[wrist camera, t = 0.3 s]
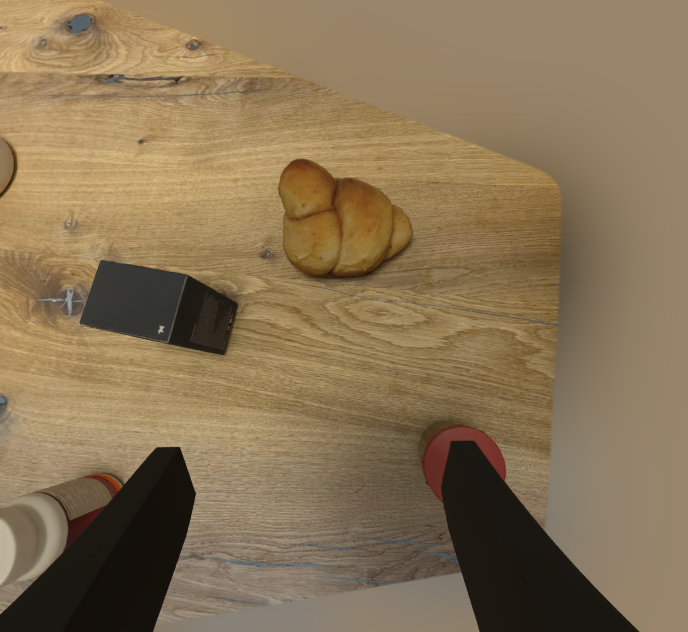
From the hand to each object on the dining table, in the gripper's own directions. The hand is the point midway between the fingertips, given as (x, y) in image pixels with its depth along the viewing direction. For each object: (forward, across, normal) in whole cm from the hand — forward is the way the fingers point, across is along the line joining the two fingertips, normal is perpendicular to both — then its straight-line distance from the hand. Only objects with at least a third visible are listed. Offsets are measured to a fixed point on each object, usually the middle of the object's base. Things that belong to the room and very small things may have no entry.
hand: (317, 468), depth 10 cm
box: (+27, +14, +12) cm, 33 cm away
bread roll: (+31, -2, +5) cm, 32 cm away
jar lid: (+11, -10, +15) cm, 21 cm away
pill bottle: (+16, +23, +26) cm, 38 cm away
